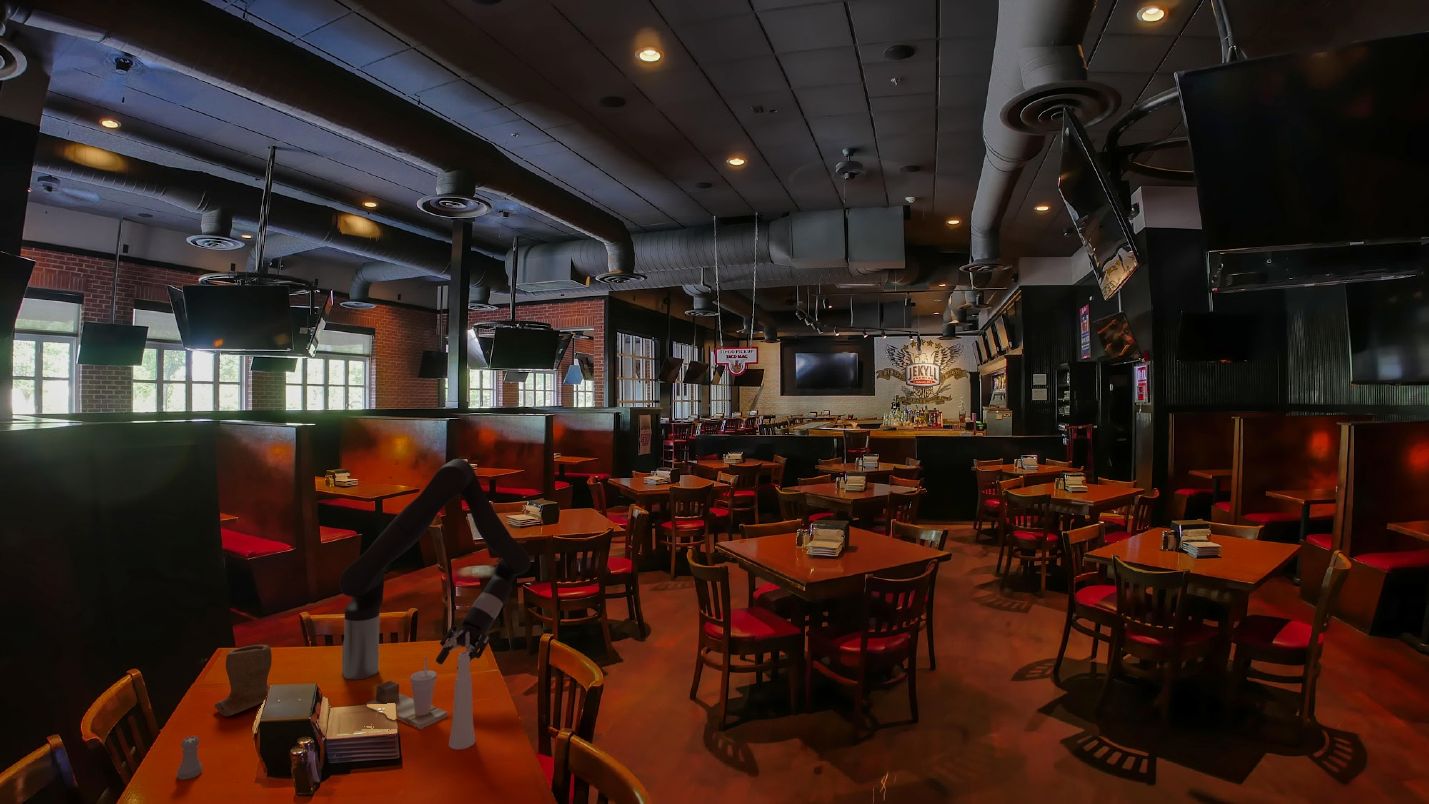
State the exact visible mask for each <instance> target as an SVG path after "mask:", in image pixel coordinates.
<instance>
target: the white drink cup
mask: <svg viewBox="0 0 1429 804" xmlns="http://www.w3.org/2000/svg"><path fill="white" fill-rule="evenodd" d="M409 677H410V679H409V682H410V683H411V690H412V691H411V693H412V699H413V701H414V711H415V715H418V716H422V715H426V714H428V713H430V709H431V706H432V702H433V697H434V696H433V695H434V688H435V683H436V680H437V679H438V676H437V672H436V671H434V670H428V658H424V669H423V670H420V671H419V670H418V671H416V672H414V673H412V674H411V675H410V676H409Z"/></svg>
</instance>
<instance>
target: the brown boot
mask: <svg viewBox="0 0 1429 804" xmlns="http://www.w3.org/2000/svg"><path fill="white" fill-rule="evenodd" d="M272 660H273V657H272V648H271V647H270V646H269V645H268V644H254V645H248V646H243V647H242V646H241V647H239V648H236V649H233V650H230V651H229V652H228V653H227V655H226V658H225V671H226V673H227V677H228V680H229V681H228V682H229V686H230V693H229V695H228V696H227V697H225V698H224V699H222V700H219V701H218V702H216V703H215V704H214V709H215V710H217V712H218V713H219V714H220V715H221V716H224V717H231V716H234V715H237V714H239V713H242V712H243V711H246V710H249V709H251V708H254V707H256V706H258V705H261V704H262V703H264V702H263V701H264V700H265V699H266V696H267V694H268V689H269V687H270V686H269V685H268V676H269V673H270V670H271V667H272Z"/></svg>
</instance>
